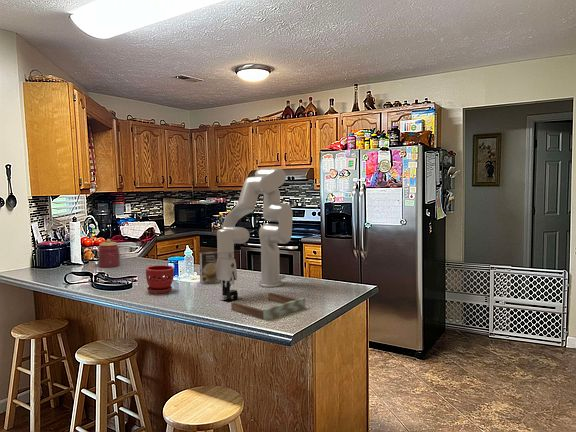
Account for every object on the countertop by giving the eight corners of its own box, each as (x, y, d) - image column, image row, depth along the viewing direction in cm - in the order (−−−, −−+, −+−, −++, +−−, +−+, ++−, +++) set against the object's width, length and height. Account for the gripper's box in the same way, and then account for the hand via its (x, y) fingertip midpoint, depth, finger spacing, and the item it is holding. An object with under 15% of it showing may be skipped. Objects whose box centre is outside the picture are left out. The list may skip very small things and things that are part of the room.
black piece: (237, 296, 203) (237, 287, 202) (248, 299, 198) (248, 289, 197) (216, 301, 193) (216, 291, 193) (226, 304, 188) (226, 294, 188)
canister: (116, 263, 288) (115, 237, 286) (123, 266, 278) (122, 239, 276) (95, 265, 279) (94, 238, 278) (101, 268, 269) (100, 240, 268)
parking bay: (270, 299, 196) (270, 290, 195) (305, 307, 182) (305, 298, 181) (231, 310, 179) (231, 300, 178) (266, 320, 165) (266, 310, 164)
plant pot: (151, 296, 202) (151, 270, 201) (142, 290, 212) (142, 266, 212) (178, 292, 209) (177, 267, 209) (168, 287, 220) (168, 263, 219)
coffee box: (201, 284, 225) (201, 253, 224) (199, 281, 231) (199, 252, 230) (219, 282, 229) (218, 252, 228) (216, 280, 235) (216, 251, 234)
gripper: (242, 256, 195) (243, 296, 196) (222, 253, 205) (222, 291, 207) (229, 258, 190) (230, 299, 191) (209, 254, 200) (209, 294, 201)
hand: (226, 295), depth 199 cm, fingers closed
